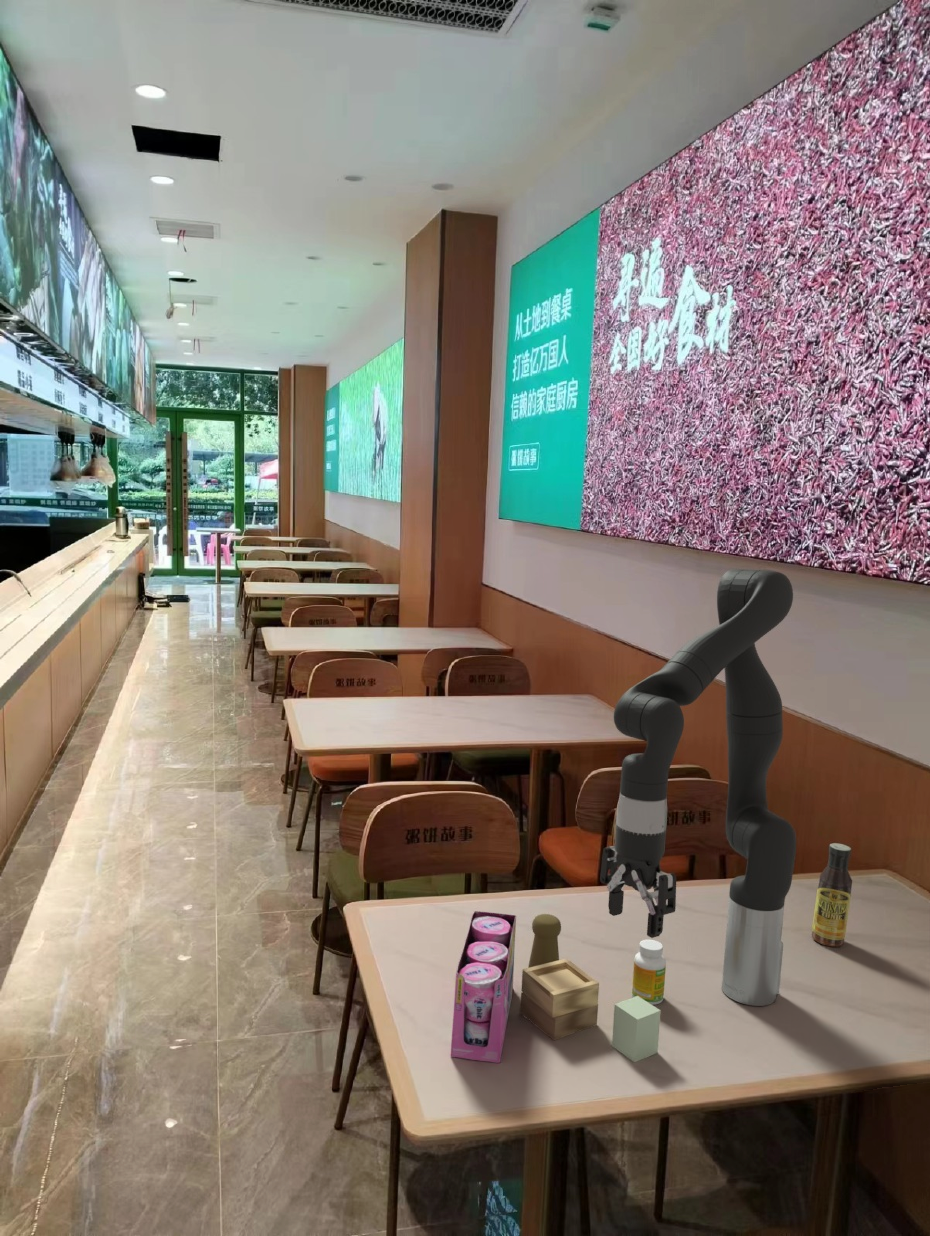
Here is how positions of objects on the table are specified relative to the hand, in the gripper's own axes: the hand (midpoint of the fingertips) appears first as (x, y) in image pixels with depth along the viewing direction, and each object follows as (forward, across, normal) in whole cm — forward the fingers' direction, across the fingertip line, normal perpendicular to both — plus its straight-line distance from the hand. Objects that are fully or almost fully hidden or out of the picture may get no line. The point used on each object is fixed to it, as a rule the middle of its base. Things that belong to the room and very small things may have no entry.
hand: (634, 924), depth 141 cm
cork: (+20, +24, -2) cm, 32 cm away
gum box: (+21, +17, +15) cm, 31 cm away
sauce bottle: (+20, +8, -62) cm, 66 cm away
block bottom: (+21, +12, +4) cm, 24 cm away
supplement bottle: (+20, +10, -14) cm, 26 cm away
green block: (+20, -1, -1) cm, 20 cm away
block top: (+17, +12, +4) cm, 21 cm away
